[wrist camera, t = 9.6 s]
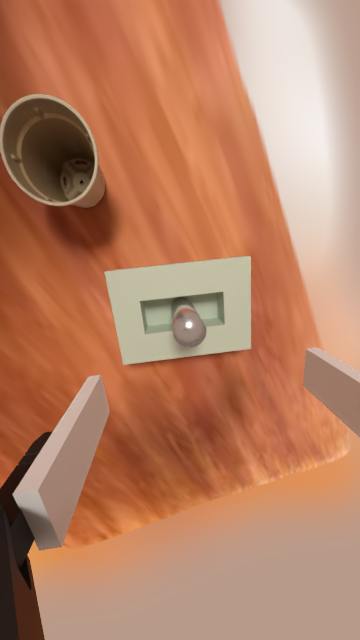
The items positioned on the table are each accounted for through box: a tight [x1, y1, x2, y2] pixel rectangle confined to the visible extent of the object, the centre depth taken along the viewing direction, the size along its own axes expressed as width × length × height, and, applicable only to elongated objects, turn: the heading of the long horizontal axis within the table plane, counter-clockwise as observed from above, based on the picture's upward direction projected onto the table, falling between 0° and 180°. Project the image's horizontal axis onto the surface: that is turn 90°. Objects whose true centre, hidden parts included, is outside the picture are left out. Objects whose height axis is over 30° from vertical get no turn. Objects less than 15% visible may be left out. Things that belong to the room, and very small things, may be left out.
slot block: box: [105, 256, 251, 365], centre depth 32 cm, size 14×20×5 cm
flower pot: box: [0, 94, 105, 208], centre depth 25 cm, size 9×9×9 cm
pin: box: [171, 297, 206, 348], centre depth 28 cm, size 4×4×12 cm
